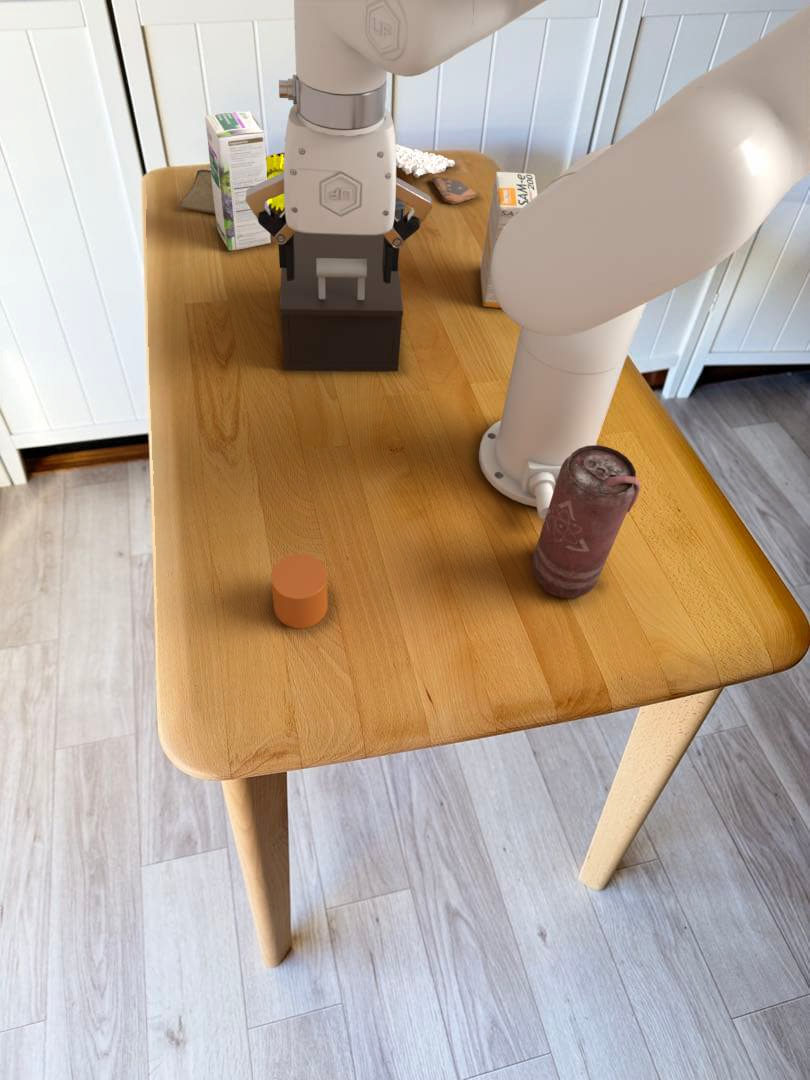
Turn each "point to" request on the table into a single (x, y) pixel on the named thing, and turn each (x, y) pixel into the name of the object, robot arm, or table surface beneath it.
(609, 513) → the can
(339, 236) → the chamber lid
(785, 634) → the table surface
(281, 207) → the gear
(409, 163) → the salt crystals
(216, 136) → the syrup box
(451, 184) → the pottery shard
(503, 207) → the supplement box
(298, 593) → the orange cylinder
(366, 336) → the box
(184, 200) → the ceramic shard
